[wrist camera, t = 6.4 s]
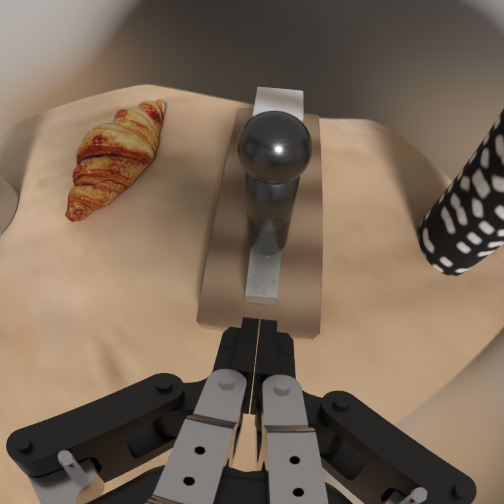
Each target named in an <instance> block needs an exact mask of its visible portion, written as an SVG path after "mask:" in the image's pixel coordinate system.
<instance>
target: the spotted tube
mask: <svg viewBox="0 0 504 504" xmlns="http://www.w3.org/2000/svg"><path fill="white" fill-rule="evenodd" d="M418 238H419V243H420V247H421V249H422V251H423V254H424V255H425V257H426V259H427V260H428V261H429V262H430V264H431V265H432V266H433V267H434V268H436V269H437V270H438V271H440V272H441V273H443V274H446V275H450V276H458V275H460V274H463V273H464V272H465V271H467V270H468V269H470V268H471V267H473V266H474V265H475V264H477V263H478V262H480V261H481V260H482V259H484V258H485V257H486V256H488V255H489V254H490V253H492V252H493V251H494V250H496V249H497V248H498V247H500V246H501V245H502V244H503V243H504V109H503V111H502V112H501V114H500V116H499V117H498V119H497V120H496V122H495V123H494V125H493V126H492V128H491V130H490V131H489V133H488V134H487V135H486V137H485V138H484V140H483V141H482V143H481V144H480V145H479V147H478V148H477V150H476V151H475V153H474V154H473V155H472V157H471V158H470V159H469V161H468V162H467V163H466V165H465V166H464V168H463V169H462V171H461V172H460V173H459V174H458V176H457V177H456V178H455V179H454V181H453V182H452V183H451V185H450V186H449V187H448V188H447V190H446V191H445V192H444V193H443V195H442V196H441V197H440V198H439V200H438V201H437V202H436V203H435V205H434V206H433V207H432V208H431V209H430V211H429V212H428V213H427V214H426V215H425V217H424V218H423V219H422V221H421V222H420V225H419V229H418Z"/></svg>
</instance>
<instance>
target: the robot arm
mask: <svg viewBox="0 0 504 504" xmlns="http://www.w3.org/2000/svg"><path fill="white" fill-rule="evenodd" d="M17 204H18V193H17V191H16V189H15V188H14V187H13V186H12V185H11V184H10V183H9V182H8V180H7V179H6V178H5V177H4V176H3V175H2V173H1V172H0V234H1V233H2V232H3V231H4V230H5V229H6V227H7V226H8V225H9V223H10V221H11V220H12V218H13V216H14V214H15V211H16V208H17ZM258 327H259V319H257V318H248V317H243V319H242V325H241V328H237V327H229V328H228V329H227V330H226V331H224V332H223V335H222V339H221V342H220V346H219V349H218V353H217V357H216V360H215V364H214V368H213V371H212V373H211V374H210V375H209V377H207V378H206V379H204V380H202V381H199V382H193V383H183V382H182V380H181V379H180V378H179V377H177V376H175V375H173V374H169V373H159V374H155V375H153V376H151V377H149V378H146V379H144V380H142V381H140V382H137V383H135V384H133V385H131V386H128V387H126V388H124V389H122V390H119V391H117V392H115V393H112V394H110V395H108V396H105V397H103V398H100V399H98V400H96V401H93V402H91V403H88V404H86V405H83V406H81V407H78V408H76V409H73V410H71V411H68V412H66V413H63V414H60V415H58V416H55V417H52V418H50V419H47V420H44V421H41V422H39V423H36V424H33V425H30V426H27V427H24V428H21V429H19V430H16V431H14V432H13V433H12V434H11V435H10V436H9V438H8V440H7V443H6V448H7V452H8V454H9V455H10V457H11V458H12V459H13V460H14V462H15V463H16V464H17V465H18V466H19V467H20V469H21V470H22V471H23V472H24V473H25V474H26V475H27V476H28V477H29V479H30V481H31V484H32V486H33V488H34V490H35V492H36V494H37V496H38V498H39V500H40V502H41V504H353V503H352V502H351V501H349V500H348V499H347V498H346V497H345V496H344V495H343V494H342V493H341V492H340V491H338V490H337V489H336V488H334V487H333V486H332V485H330V484H328V483H326V482H325V481H324V476H323V470H322V467H323V468H324V469H325V470H326V471H327V472H328V473H330V474H331V475H332V476H333V477H334V478H335V479H336V480H337V481H338V482H340V483H341V484H342V485H343V486H344V487H345V488H346V489H348V490H349V491H350V492H351V493H352V494H354V495H355V496H356V497H357V498H358V499H360V500H361V501H362V502H363V503H364V504H471V503H472V502H473V500H474V499H475V496H476V485H475V483H474V481H473V480H472V479H471V478H470V477H469V476H467V475H466V474H464V473H463V472H461V471H459V470H458V469H456V468H455V467H453V466H452V465H450V464H449V463H447V462H446V461H444V460H443V459H441V458H440V457H438V456H437V455H435V454H434V453H432V452H430V451H429V450H428V449H426V448H425V447H424V446H422V445H421V444H419V443H418V442H416V441H415V440H413V439H412V438H411V437H409V436H408V435H406V434H405V433H403V432H402V431H401V430H399V429H398V428H396V427H395V426H394V425H392V424H391V423H390V422H388V421H387V420H386V419H384V418H383V417H381V416H380V415H379V414H377V413H376V412H375V411H373V410H372V409H371V408H369V407H368V406H367V405H365V404H364V403H363V402H361V401H360V400H359V399H357V398H356V397H355V396H353V395H352V394H350V393H348V392H344V391H332V392H329V393H327V394H326V395H325V396H324V397H323V398H321V397H317V396H314V395H310V394H308V393H306V392H304V391H303V390H302V388H301V385H300V383H299V382H298V381H297V380H296V375H295V359H294V344H293V339H292V338H291V336H290V335H289V334H288V333H284V332H277V321H276V320H266V319H261V321H260V330H259V338H258V346H257V337H258ZM256 347H257V355H256ZM255 356H256V364H255ZM254 366H255V374H254ZM253 375H254V384H253V393H252V402H251V412H250V414H253V415H255V427H256V429H255V457H256V469H255V471H252V472H243V471H240V470H237V469H234V468H232V467H233V463H234V459H235V455H236V450H237V446H238V442H239V438H240V434H241V429H242V421H243V413H245V414H249V406H250V399H251V391H252V383H253ZM171 448H173V449H172V451H171V454H170V456H169V458H168V461H167V463H166V465H162V466H159V467H156V468H153V469H151V470H148V471H146V472H145V473H143V474H141V475H139V476H138V477H136V478H134V479H132V480H131V481H129V482H127V483H125V484H123V485H121V486H120V487H118V488H116V489H114V490H112V491H110V492H108V493H106V494H104V495H102V493H103V491H104V483H105V482H108V481H110V480H112V479H114V478H116V477H118V476H120V475H122V474H124V473H126V472H128V471H130V470H132V469H134V468H136V467H138V466H140V465H142V464H144V463H146V462H148V461H149V460H151V459H153V458H155V457H157V456H159V455H160V454H162V453H164V452H166V451H168V450H169V449H171ZM101 495H102V496H101Z"/></svg>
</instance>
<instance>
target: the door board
mask: <svg viewBox="0 0 504 504" xmlns="http://www.w3.org/2000/svg"><path fill="white" fill-rule="evenodd" d="M266 111H283V112H286V113H289V114H291V115H293V116H295V117H297V118H298V119H299V120H300V121H302V123H303V124H304V125H305V126H306V127H307V129H308V131H309V133H310V135H311V138H312V143H313V154H312V158H311V161H310V163H309V165H308V167H307V169H306V170H305V171H304V172H303V173H302V174H301V175H300V180H299V185H298V190H297V195H296V200H295V205H294V210H293V214H292V219H291V224H290V228H289V233H288V238H287V242H286V245H285V246H284V248H283V249H282V250H281V260H280V272H279V285H278V296H277V301H276V305H269V304H258V303H249V302H246V300H245V292H246V284H247V276H248V267H249V259H250V251H251V247H250V245H249V243H248V239H247V214H246V186H245V170H244V169H243V167H242V165H241V164H240V161H239V159H238V155H237V139H238V136H239V133H240V131H241V129H242V127H243V126H244V125H245V123H246V122H247V121H248V120H250V119H251V118H252V117H254V116H255V115H257V114H259V113H262V112H266ZM322 255H323V208H322V167H321V144H320V126H319V115H313V114H305V113H303V91H298V90H288V89H277V88H264V87H258V88H257V94H256V99H255V105H254V109H249V108H238V112H237V116H236V121H235V125H234V129H233V134H232V138H231V143H230V147H229V151H228V156H227V161H226V165H225V170H224V175H223V179H222V184H221V189H220V194H219V199H218V204H217V209H216V214H215V219H214V224H213V229H212V234H211V240H210V245H209V250H208V256H207V261H206V267H205V273H204V278H203V284H202V290H201V296H200V302H199V308H198V314H197V320H196V321H197V322H198V324H199V325H200V326H201V327H202V328H206V329H214V330H222V331H226V330H227V329H228V328H229V327H237V328H241V325H242V319H243V317H248V318H257V319H259V327H258V335H259V330H260V321H261V319H266V320H276V321H277V332H284V333H288V334H289V335H290V336H291V338H303V339H314V338H315V337H316V336H317V335H319V334H320V319H321V296H322Z"/></svg>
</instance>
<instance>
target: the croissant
mask: <svg viewBox="0 0 504 504" xmlns="http://www.w3.org/2000/svg"><path fill="white" fill-rule="evenodd" d="M164 111H165V103H164V102H163V100H162V99H159V100H157V101H156V102H155V101H148V102H142V103H141V104H140V105H139V106H138V107H136V108H132V109H125V110H119V111H118V112H117V113H116V115H115V118H114V121H113V123H110V124H102V125H100V126H98V127H96V128H94V129H93V130H92V131H91V132H88V134H87V135H86V136H85V137H84V139H83V141H82V144H81V146H80V147H79V149H78V151H77V167H76V168H75V169H74V172H73V176H72V177H73V182H74V187H73V188H71V190H70V193H69V196H68V206H67V211H66V214H65V216H66V217H67V218H68V219H69V220H71V221H72V222H73V221H80V220H83V219H85V218H86V217H87V216H88V215H89V214H92V213H93V212H94V211H95V210H97V209H100V208H102V207H105V206H107V205H109V204H110V203H111V202H112V201H114V200H115V199H116V197H117V196H118V195H119V194H120V193H121V192H122V191H124V190H126V189H128V188H129V187H130V186H131V185H132V184H133V183H134V181H135V180H136V179H137V178H138V177H139V174H140V173H141V172H143V171H144V170H145V169H146V168H147V166H148V165H149V164H150V163H151V162H152V160H153V158H154V155H155V153H156V150H157V148H158V143H159V142H158V139H157V138H158V136H159V132H160V130H161V120H162V119H163V117H164Z"/></svg>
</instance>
